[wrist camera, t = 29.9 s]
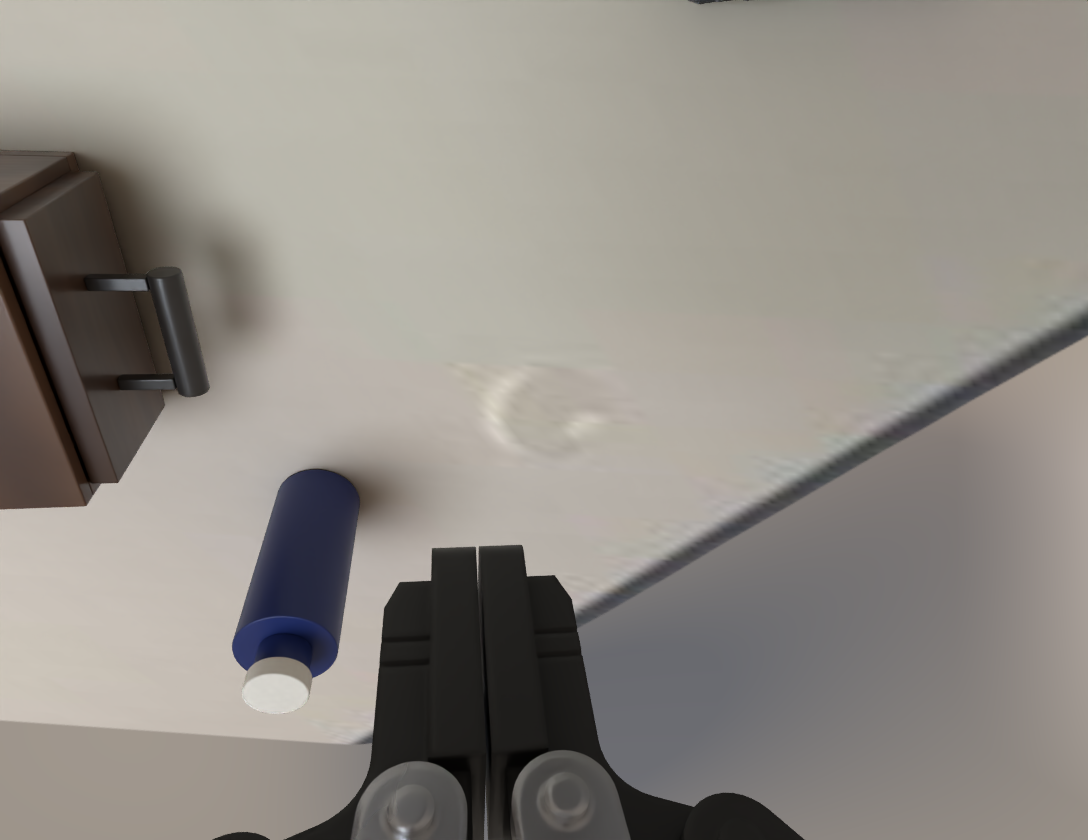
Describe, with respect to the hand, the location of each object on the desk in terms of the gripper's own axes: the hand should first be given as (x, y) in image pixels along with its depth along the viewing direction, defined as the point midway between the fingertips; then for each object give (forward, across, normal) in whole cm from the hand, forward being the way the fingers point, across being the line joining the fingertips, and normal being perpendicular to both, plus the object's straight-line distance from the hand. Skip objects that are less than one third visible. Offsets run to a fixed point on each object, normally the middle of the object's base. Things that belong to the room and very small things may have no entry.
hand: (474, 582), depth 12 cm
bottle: (+27, +9, +21) cm, 35 cm away
